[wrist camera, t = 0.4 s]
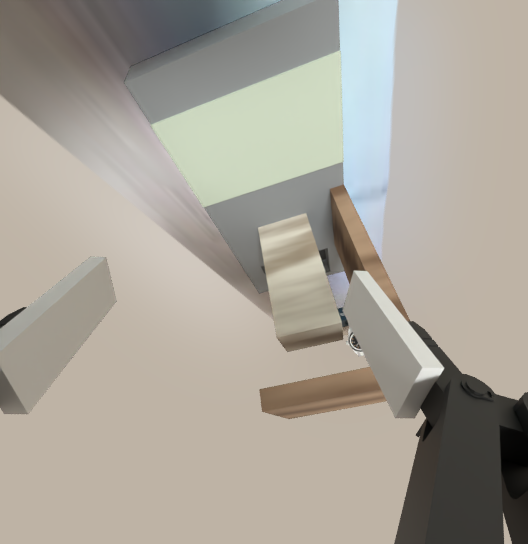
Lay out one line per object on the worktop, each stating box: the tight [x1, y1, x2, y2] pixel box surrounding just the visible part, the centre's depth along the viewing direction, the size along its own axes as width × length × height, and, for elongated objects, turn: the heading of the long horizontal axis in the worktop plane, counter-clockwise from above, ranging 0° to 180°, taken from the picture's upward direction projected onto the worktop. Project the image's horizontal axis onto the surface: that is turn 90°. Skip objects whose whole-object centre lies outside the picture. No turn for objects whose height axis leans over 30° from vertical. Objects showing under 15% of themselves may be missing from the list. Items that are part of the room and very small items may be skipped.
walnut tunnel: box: [260, 184, 410, 419], centre depth 27 cm, size 10×12×20 cm
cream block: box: [258, 213, 343, 352], centre depth 29 cm, size 5×6×14 cm
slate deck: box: [124, 0, 345, 293], centre depth 31 cm, size 33×15×3 cm, turn 16°
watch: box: [338, 308, 364, 356], centre depth 61 cm, size 6×8×11 cm
